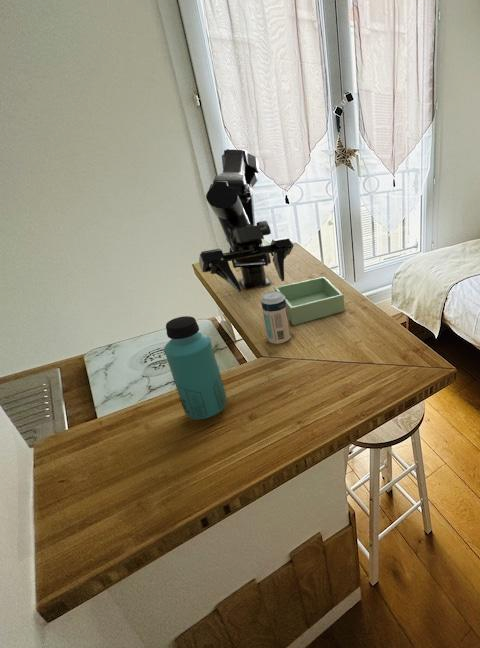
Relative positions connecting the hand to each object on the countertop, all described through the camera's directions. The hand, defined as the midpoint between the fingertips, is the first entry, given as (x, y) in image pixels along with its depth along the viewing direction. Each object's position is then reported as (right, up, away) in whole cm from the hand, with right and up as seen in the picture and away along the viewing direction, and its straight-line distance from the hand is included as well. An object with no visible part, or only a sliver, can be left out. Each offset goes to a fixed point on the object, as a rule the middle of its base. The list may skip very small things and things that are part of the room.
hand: (262, 285), depth 92 cm
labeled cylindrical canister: (+3, -13, +2) cm, 13 cm away
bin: (+4, -6, +16) cm, 18 cm away
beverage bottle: (+2, -23, -20) cm, 30 cm away
